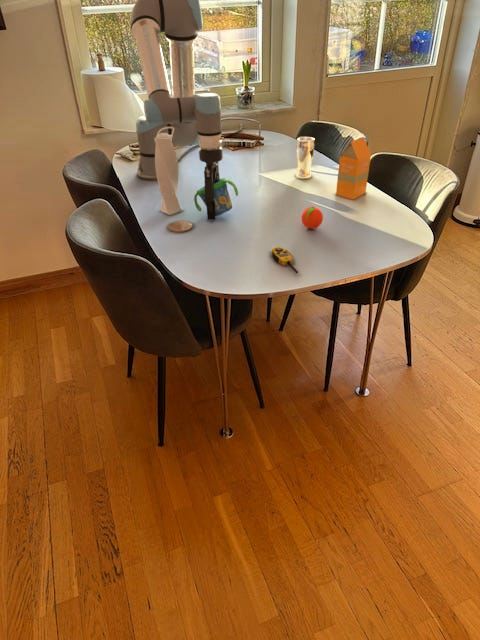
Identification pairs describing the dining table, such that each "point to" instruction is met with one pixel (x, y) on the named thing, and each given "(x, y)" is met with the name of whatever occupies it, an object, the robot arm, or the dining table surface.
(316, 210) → the clementine
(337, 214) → the dining table surface
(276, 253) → the yellow walkie talkie
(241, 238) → the dining table surface
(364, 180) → the orange juice
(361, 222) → the dining table surface
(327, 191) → the dining table surface
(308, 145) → the beer glass
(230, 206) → the snack cup
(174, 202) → the skyscraper
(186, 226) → the cork coaster
